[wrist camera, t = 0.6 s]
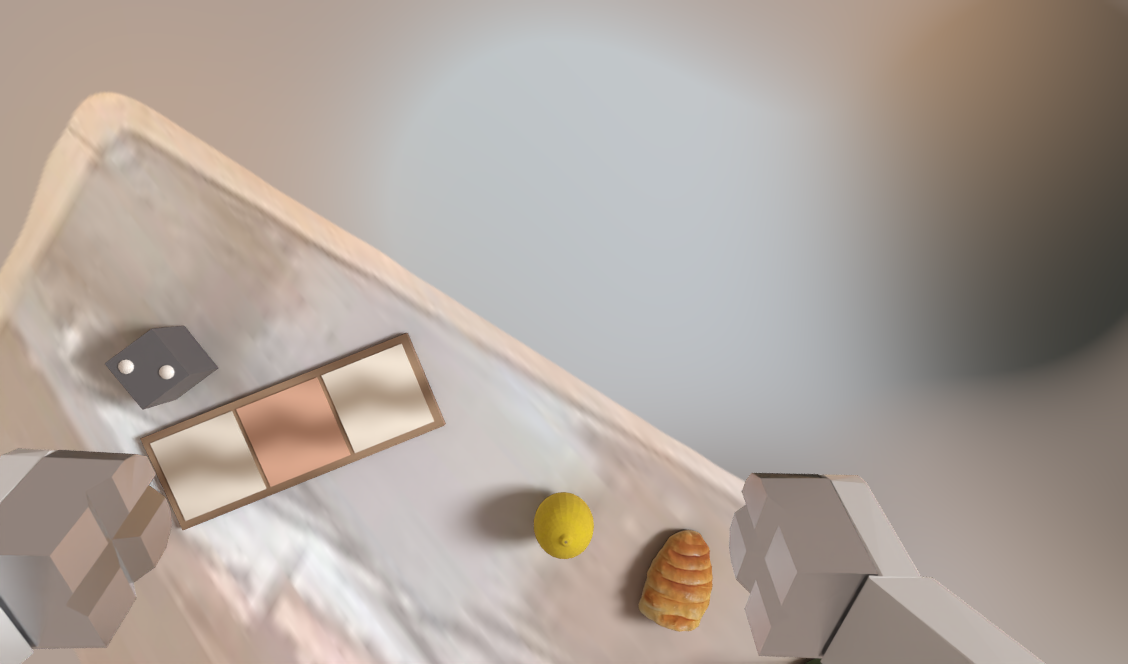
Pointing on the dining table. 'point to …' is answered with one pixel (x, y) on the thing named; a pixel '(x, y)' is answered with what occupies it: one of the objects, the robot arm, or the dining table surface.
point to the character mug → (815, 661)
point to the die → (161, 366)
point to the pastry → (678, 583)
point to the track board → (293, 431)
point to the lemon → (563, 525)
